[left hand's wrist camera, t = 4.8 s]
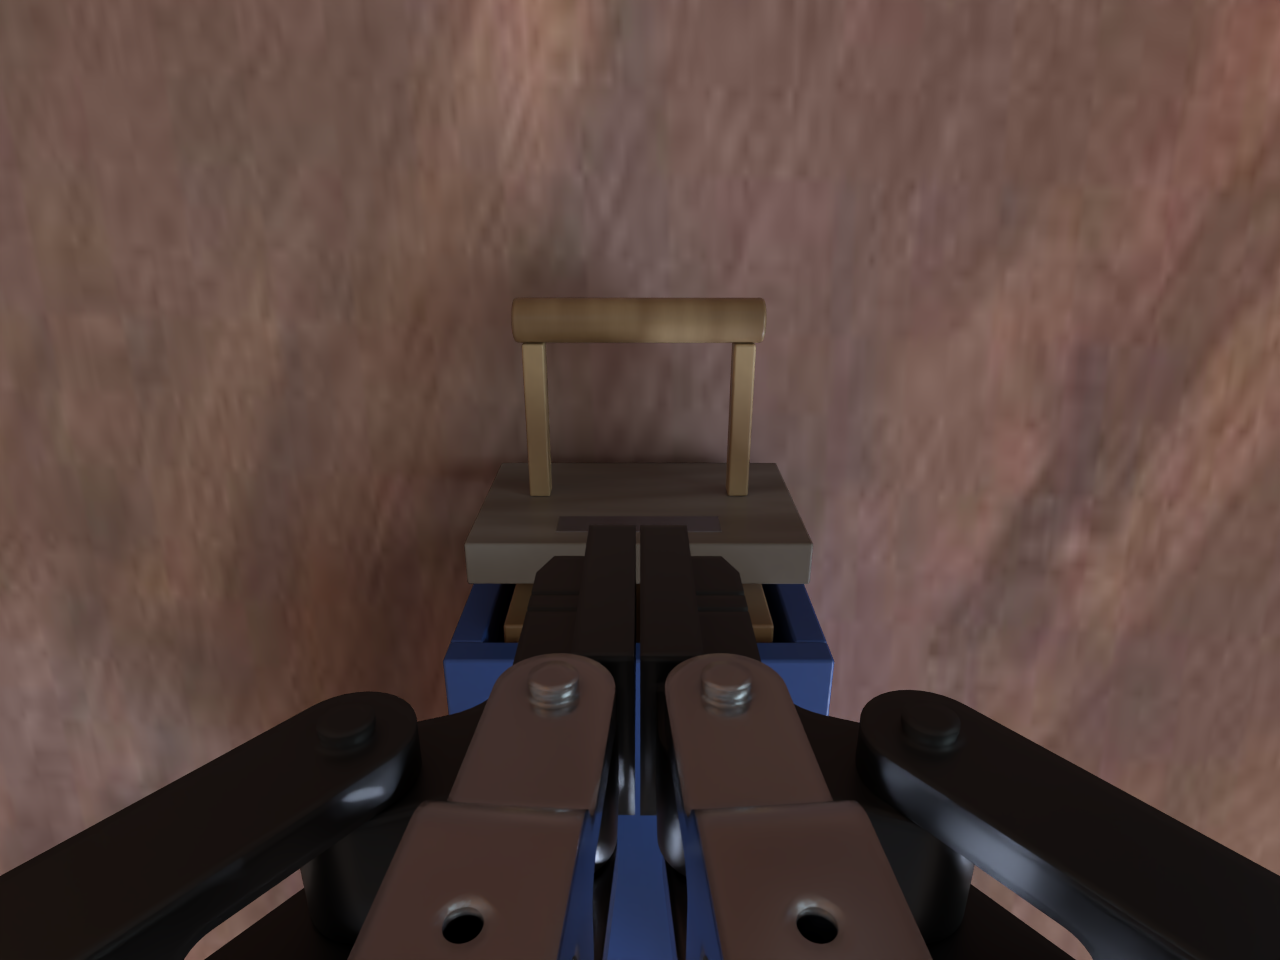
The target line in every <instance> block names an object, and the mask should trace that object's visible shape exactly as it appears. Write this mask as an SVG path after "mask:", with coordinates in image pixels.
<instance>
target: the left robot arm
mask: <svg viewBox="0 0 1280 960" xmlns="http://www.w3.org/2000/svg"><path fill="white" fill-rule="evenodd" d="M531 592H532V593H531V595H530V599H529V603H528V607H527V611H526V615H525V619H524V623H523V627H522V630H521V634H520V638H519V642H518V646H517V650H516V654H515V658H514V662H513V666H511V667H509V668H508V669H507V670H506V671H504V672H503V673H502V674H501V675H500V676H499V678H498V679H497V680H496V682H495V684H494V686H493V688H492V691H491V693H490V696H489V698H488V699H487V700H486V701H484V702H483V703H481V704H479V705H477V706H474V707H472V708H470V709H467V710H464V711H462V712H459V713H455V714H451V715H447V716H442V717H438V718H433V719H428V720H424V721H419V722H417V718H416V714H415V712H414V710H413V708H412V707H411V706H410V704H408V703H407V702H406V701H404V700H403V699H401V698H399V697H397V696H394V695H391V694H388V693H381V692H356V693H350V694H344V695H341V696H337V697H333V698H330V699H328V700H325V701H322V702H320V703H318V704H316V705H314V706H312V707H310V708H308V709H306V710H305V711H303V712H301V713H299V714H297V715H295V716H293V717H292V718H290V719H288V720H286V721H284V722H282V723H281V724H279V725H277V726H275V727H273V728H271V729H270V730H268V731H266V732H264V733H262V734H260V735H259V736H257V737H255V738H253V739H251V740H249V741H248V742H246V743H244V744H242V745H240V746H238V747H237V748H235V749H233V750H231V751H229V752H227V753H225V754H224V755H222V756H220V757H218V758H216V759H214V760H213V761H211V762H209V763H207V764H205V765H203V766H202V767H200V768H198V769H196V770H194V771H192V772H191V773H189V774H187V775H185V776H183V777H181V778H180V779H178V780H176V781H174V782H172V783H170V784H169V785H167V786H165V787H163V788H161V789H159V790H157V791H156V792H154V793H152V794H150V795H148V796H146V797H145V798H143V799H141V800H139V801H137V802H135V803H134V804H132V805H130V806H128V807H126V808H124V809H123V810H121V811H119V812H117V813H115V814H113V815H112V816H110V817H108V818H106V819H104V820H102V821H101V822H99V823H97V824H95V825H93V826H91V827H89V828H88V829H86V830H84V831H82V832H80V833H78V834H77V835H75V836H73V837H71V838H69V839H67V840H66V841H64V842H62V843H60V844H58V845H56V846H55V847H53V848H51V849H49V850H47V851H45V852H44V853H42V854H40V855H38V856H36V857H34V858H33V859H31V860H29V861H27V862H25V863H23V864H21V865H20V866H18V867H16V868H14V869H12V870H10V871H9V872H7V873H5V874H3V875H1V876H0V960H184V958H185V957H186V955H187V954H188V953H189V951H190V950H191V949H192V948H193V947H194V945H195V944H196V943H197V942H198V941H199V940H200V939H201V938H202V937H204V936H205V935H206V934H207V933H209V932H210V931H211V930H212V929H214V928H215V927H217V926H218V925H220V924H221V923H222V922H224V921H225V920H227V919H228V918H230V917H231V916H233V915H234V914H235V913H237V912H238V911H240V910H241V909H243V908H244V907H245V906H247V905H248V904H250V903H251V902H253V901H254V900H255V899H257V898H258V897H260V896H261V895H263V894H264V893H265V892H267V891H268V890H270V889H271V888H273V887H274V886H275V885H277V884H278V883H280V882H281V881H283V880H284V879H285V878H287V877H288V876H290V875H291V874H293V873H294V872H295V871H297V870H298V869H300V870H301V875H302V880H303V884H304V888H303V889H302V890H300V891H299V892H298V893H296V894H295V895H293V896H292V897H291V898H289V899H288V900H286V901H285V902H284V903H282V904H281V905H280V906H278V907H277V908H275V909H274V910H273V911H271V912H270V913H268V914H267V915H266V916H264V917H263V918H262V919H260V920H259V921H257V922H256V923H255V924H253V925H252V926H250V927H249V928H248V929H246V930H245V931H244V932H242V933H241V934H239V935H238V936H237V937H235V938H234V939H232V940H231V941H230V942H228V943H227V944H225V945H224V946H223V947H221V948H220V949H219V950H217V951H216V952H214V953H213V954H212V955H210V956H209V957H207V958H206V959H205V960H607V958H608V949H609V941H610V933H611V925H612V917H613V908H614V900H615V892H616V884H617V875H618V851H617V832H618V815H635V721H636V525H589V529H588V536H587V543H586V550H585V556H554V557H553V558H551V559H550V560H549V561H548V562H547V563H546V564H545V565H544V566H543V567H542V568H541V569H539V570H538V571H537V572H536V576H535V580H534V584H533V587H532V591H531ZM640 816H657V840H658V846H659V848H660V851H661V853H662V875H663V884H664V892H665V900H666V908H667V917H668V925H669V933H670V941H671V949H672V958H673V960H1075V959H1074V958H1073V957H1071V956H1070V955H1068V954H1067V953H1066V952H1064V951H1063V950H1061V949H1060V948H1059V947H1057V946H1056V945H1054V944H1053V943H1052V942H1050V941H1049V940H1048V939H1046V938H1045V937H1043V936H1042V935H1041V934H1039V933H1038V932H1036V931H1035V930H1034V929H1032V928H1031V927H1030V926H1028V925H1027V924H1025V923H1024V922H1023V921H1021V920H1020V919H1018V918H1017V917H1016V916H1014V915H1013V914H1012V913H1010V912H1009V911H1007V910H1006V909H1005V908H1003V907H1002V906H1000V905H999V904H998V903H996V902H995V901H993V900H992V899H991V898H989V897H988V896H987V895H985V894H984V893H982V892H981V891H980V890H978V889H977V888H975V887H974V886H973V885H971V879H972V874H973V870H974V865H976V866H977V867H979V868H980V869H982V870H983V871H985V872H986V873H987V874H989V875H990V876H992V877H993V878H995V879H996V880H997V881H999V882H1000V883H1002V884H1003V885H1005V886H1006V887H1007V888H1009V889H1010V890H1012V891H1013V892H1015V893H1016V894H1017V895H1019V896H1020V897H1022V898H1023V899H1025V900H1026V901H1027V902H1029V903H1030V904H1032V905H1033V906H1035V907H1036V908H1037V909H1039V910H1040V911H1042V912H1043V913H1045V914H1046V915H1047V916H1049V917H1050V918H1052V919H1053V920H1055V921H1056V922H1057V923H1059V924H1060V925H1062V926H1063V927H1065V928H1066V929H1067V930H1068V931H1070V932H1071V933H1072V934H1073V935H1074V936H1075V937H1076V938H1077V939H1078V940H1079V941H1080V942H1081V943H1082V944H1083V945H1084V946H1085V948H1086V949H1087V950H1088V952H1089V953H1090V955H1091V956H1092V958H1093V960H1280V876H1279V875H1277V874H1275V873H1273V872H1271V871H1270V870H1268V869H1266V868H1264V867H1262V866H1260V865H1258V864H1257V863H1255V862H1253V861H1251V860H1249V859H1247V858H1246V857H1244V856H1242V855H1240V854H1238V853H1236V852H1235V851H1233V850H1231V849H1229V848H1227V847H1225V846H1224V845H1222V844H1220V843H1218V842H1216V841H1214V840H1213V839H1211V838H1209V837H1207V836H1205V835H1203V834H1202V833H1200V832H1198V831H1196V830H1194V829H1192V828H1190V827H1189V826H1187V825H1185V824H1183V823H1181V822H1179V821H1178V820H1176V819H1174V818H1172V817H1170V816H1168V815H1167V814H1165V813H1163V812H1161V811H1159V810H1157V809H1156V808H1154V807H1152V806H1150V805H1148V804H1146V803H1145V802H1143V801H1141V800H1139V799H1137V798H1135V797H1134V796H1132V795H1130V794H1128V793H1126V792H1124V791H1122V790H1121V789H1119V788H1117V787H1115V786H1113V785H1111V784H1110V783H1108V782H1106V781H1104V780H1102V779H1100V778H1099V777H1097V776H1095V775H1093V774H1091V773H1089V772H1088V771H1086V770H1084V769H1082V768H1080V767H1078V766H1077V765H1075V764H1073V763H1071V762H1069V761H1067V760H1066V759H1064V758H1062V757H1060V756H1058V755H1056V754H1054V753H1053V752H1051V751H1049V750H1047V749H1045V748H1043V747H1042V746H1040V745H1038V744H1036V743H1034V742H1032V741H1031V740H1029V739H1027V738H1025V737H1023V736H1021V735H1020V734H1018V733H1016V732H1014V731H1012V730H1010V729H1009V728H1007V727H1005V726H1003V725H1001V724H999V723H998V722H996V721H994V720H992V719H990V718H988V717H986V716H985V715H983V714H981V713H979V712H977V711H975V710H974V709H972V708H970V707H968V706H966V705H964V704H962V703H960V702H958V701H956V700H954V699H951V698H948V697H946V696H943V695H939V694H935V693H931V692H925V691H917V690H898V691H892V692H887V693H884V694H881V695H879V696H877V697H875V698H873V699H872V700H870V701H869V702H868V703H867V704H866V705H865V707H864V708H863V710H862V713H861V716H860V723H858V722H854V721H849V720H844V719H840V718H835V717H831V716H826V715H822V714H818V713H815V712H812V711H809V710H806V709H804V708H801V707H799V706H797V705H795V704H794V703H793V701H792V698H791V696H790V693H789V691H788V688H787V686H786V684H785V682H784V680H783V679H782V678H781V676H780V675H779V674H778V673H777V672H776V671H774V670H773V669H772V668H771V667H769V666H767V665H766V664H764V663H762V662H761V659H760V655H759V651H758V646H757V642H756V638H755V634H754V630H753V626H752V622H751V618H750V614H749V612H748V606H747V602H746V597H745V595H744V589H743V585H742V581H741V577H740V573H739V572H738V571H737V570H736V569H735V568H734V567H733V566H732V565H731V564H730V563H729V562H727V561H726V560H725V559H724V558H723V557H722V556H691V553H690V545H689V538H688V530H687V525H640Z"/></svg>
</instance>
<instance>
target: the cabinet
mask: <svg viewBox="0 0 1280 960" xmlns="http://www.w3.org/2000/svg"><path fill="white" fill-rule="evenodd" d="M515 586H516V584H474V585H473V587H472V590H471V592H470V595H469V597H468V600H467V602H466V605H465V607H464V610H463V612H462V615H461V617H460V620H459V622H458V625H457V627H456V630H455V632H454V635H453V637H452V640H451V644H450V645H449V648H448V650H447V653H446V655H445V658H444V660H443V666H444V675H445V684H446V693H447V702H448V712H449V715H451V714H455V713H459V712H462V711H464V710H467V709H470V708H472V707H474V706H477V705H479V704H481V703H483V702H484V701H486V700H487V699H488V698H489V696H490V693H491V691H492V688H493V686H494V684H495V682H496V680H497V679H498V678H499V676H500V675H501V674H502V673H503V672H504V671H506V670H507V669H508V668H509V667H511V666H513V662H514V658H515V654H516V650H517V646H518V643H505V641H504V627H503V626H504V623H505V620H506V616H507V613H508V610H509V606H510V603H511V600H512V596H513V593H514V589H515ZM762 587H763V591H764V594H765V598H766V601H767V605H768V608H769V611H770V615H771V618H772V622H773V625H774V633H773V643H757V646H758V651H759V655H760V659H761V662H762V663H764V664H766V665H767V666H769V667H771V668H772V669H773V670H774V671H776V672H777V673H778V674H779V675H780V676H781V678H782V679H783V680H784V682H785V684H786V686H787V688H788V691H789V693H790V696H791V698H792V701H793V703H794V704H795V705H797V706H799V707H801V708H804V709H806V710H809V711H812V712H815V713H818V714H822V715H826V716H828V714H829V705H830V696H831V687H832V677H833V668H834V660H833V657H832V655H831V652H830V650H829V647H828V645H827V642H826V639H825V637H824V634H823V632H822V629H821V627H820V624H819V622H818V619H817V617H816V614H815V611H814V609H813V606H812V604H811V601H810V599H809V596H808V594H807V591H806V589H805V586H804V584H762ZM617 851H618V875H617V884H616V892H615V900H614V908H613V917H612V925H611V933H610V941H609V949H608V958H607V960H673V958H672V949H671V941H670V933H669V925H668V917H667V908H666V900H665V892H664V884H663V875H662V853H661V851H660V848H659V846H658V840H657V816H640V643H636V721H635V815H618V832H617Z"/></svg>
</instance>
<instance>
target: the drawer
mask: <svg viewBox="0 0 1280 960" xmlns="http://www.w3.org/2000/svg"><path fill="white" fill-rule="evenodd" d="M511 323H512V333H513V337H514V340H515V341H516V342H518V343H523V344H522V360H523V378H524V396H525V414H526V432H527V450H528V463H502V464H501V467H500V469H499V471H498V473H497V475H496V477H495V479H494V482H493V484H492V486H491V488H490V490H489V492H488V494H487V497H486V499H485V501H484V503H483V505H482V507H481V509H480V512H479V514H478V516H477V518H476V520H475V522H474V524H473V527H472V529H471V531H470V533H469V535H468V537H467V539H466V542H465V544H464V548H465V559H466V570H467V581H468V583H469V584H516V586H515V589H514V593H513V596H512V600H511V603H510V606H509V610H508V613H507V616H506V620H505V623H504V626H503V627H504V641H505V643H518V642H519V638H520V634H521V630H522V627H523V623H524V619H525V615H526V611H527V607H528V603H529V599H530V595H531V593H532V592H531V591H532V587H533V584H534V580H535V576H536V572H537V571H538V570H539V569H541V568H542V567H543V566H544V565H545V564H546V563H547V562H548V561H549V560H550V559H551V558H553V557H554V556H585V550H586V543H587V536H588V529H589V525H636V643H640V525H687V530H688V538H689V545H690V553H691V556H722V557H723V558H724V559H725V560H726V561H727V562H729V563H730V564H731V565H732V566H733V567H734V568H735V569H736V570H737V571H738V572H739V573H740V577H741V581H742V585H743V589H744V595H745V597H746V602H747V606H748V612H749V614H750V618H751V622H752V626H753V630H754V634H755V638H756V642H757V643H773V633H774V625H773V622H772V618H771V615H770V611H769V608H768V605H767V601H766V598H765V594H764V591H763V587H762V584H809V582H810V574H811V563H812V552H813V543H812V541H811V539H810V537H809V534H808V532H807V530H806V528H805V526H804V524H803V521H802V519H801V517H800V515H799V513H798V510H797V508H796V506H795V504H794V502H793V500H792V497H791V495H790V493H789V491H788V489H787V487H786V484H785V482H784V480H783V478H782V476H781V473H780V471H779V469H778V467H777V465H776V463H749V462H750V443H751V425H752V407H753V389H754V371H755V353H756V346H755V344H754V343H760V342H762V341H763V339H764V336H765V331H766V304H765V301H764V299H762V298H515V299H514V300H513V303H512V310H511ZM546 343H732V357H731V380H730V403H729V426H728V448H727V463H551V452H550V430H549V407H548V384H547V361H546Z"/></svg>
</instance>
